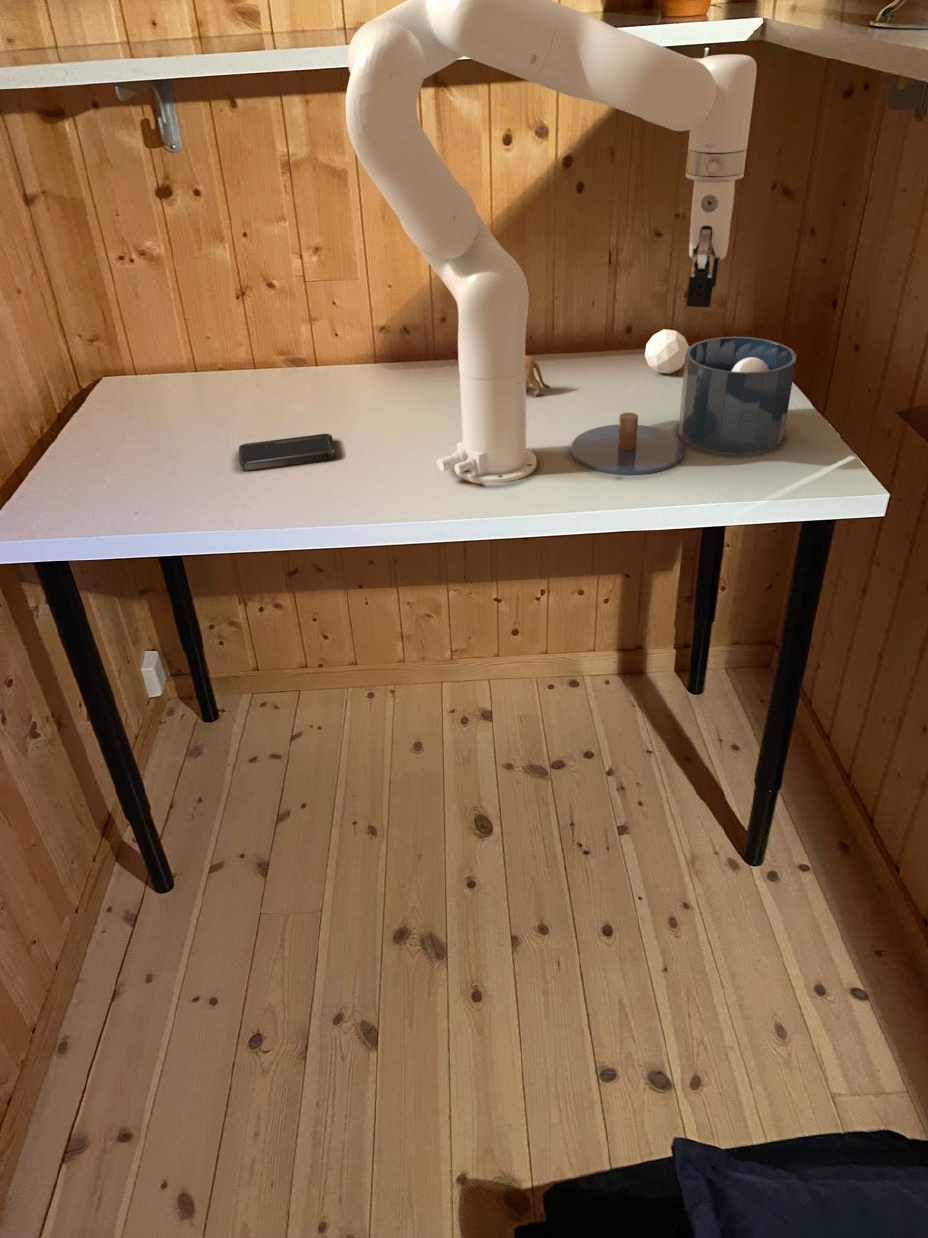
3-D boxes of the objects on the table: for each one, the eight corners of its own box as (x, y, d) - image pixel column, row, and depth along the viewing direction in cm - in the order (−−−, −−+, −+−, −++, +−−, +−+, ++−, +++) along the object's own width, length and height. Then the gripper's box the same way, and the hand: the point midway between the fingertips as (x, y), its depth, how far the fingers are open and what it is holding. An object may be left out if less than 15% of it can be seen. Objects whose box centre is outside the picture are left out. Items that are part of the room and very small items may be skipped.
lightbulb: (745, 432, 149) (770, 365, 146) (755, 433, 143) (781, 363, 140) (709, 420, 148) (734, 353, 146) (717, 421, 143) (743, 350, 140)
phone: (335, 452, 145) (238, 464, 143) (336, 458, 145) (240, 471, 143) (331, 432, 151) (238, 443, 149) (332, 438, 152) (240, 450, 150)
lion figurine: (468, 400, 162) (466, 350, 157) (467, 389, 167) (465, 340, 162) (551, 395, 163) (552, 345, 157) (548, 384, 167) (548, 335, 162)
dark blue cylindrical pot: (737, 465, 137) (748, 381, 129) (657, 433, 148) (664, 353, 140) (804, 435, 144) (818, 354, 137) (724, 406, 155) (733, 329, 148)
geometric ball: (653, 387, 170) (629, 354, 167) (673, 360, 174) (650, 327, 171) (684, 377, 164) (659, 342, 161) (704, 348, 167) (680, 313, 164)
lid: (626, 489, 132) (629, 450, 129) (548, 452, 144) (549, 414, 140) (706, 455, 140) (710, 416, 137) (626, 422, 152) (628, 386, 148)
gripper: (741, 176, 114) (724, 315, 124) (747, 153, 127) (731, 280, 137) (680, 176, 116) (667, 313, 125) (692, 153, 129) (680, 278, 139)
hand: (701, 295), depth 131 cm, fingers open, 9 cm apart
